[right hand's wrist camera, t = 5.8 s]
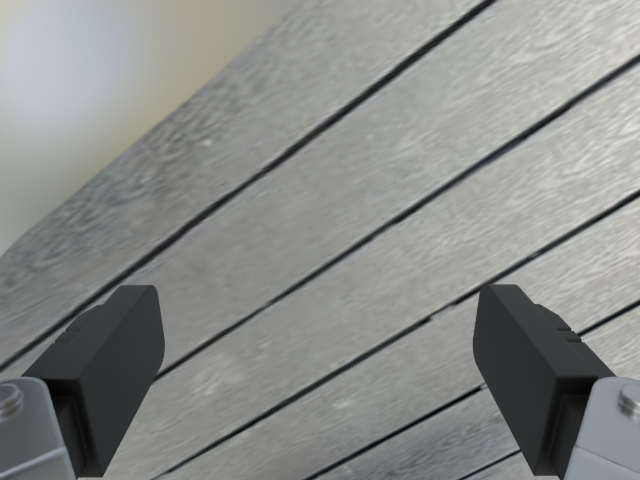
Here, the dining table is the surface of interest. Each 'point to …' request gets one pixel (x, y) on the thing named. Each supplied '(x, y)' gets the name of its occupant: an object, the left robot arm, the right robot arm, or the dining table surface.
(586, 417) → the right robot arm
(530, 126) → the dining table surface
